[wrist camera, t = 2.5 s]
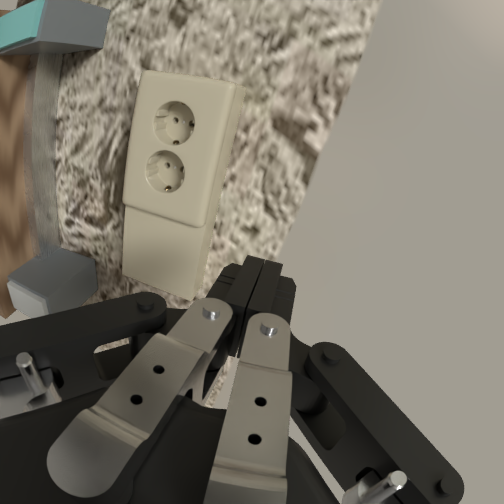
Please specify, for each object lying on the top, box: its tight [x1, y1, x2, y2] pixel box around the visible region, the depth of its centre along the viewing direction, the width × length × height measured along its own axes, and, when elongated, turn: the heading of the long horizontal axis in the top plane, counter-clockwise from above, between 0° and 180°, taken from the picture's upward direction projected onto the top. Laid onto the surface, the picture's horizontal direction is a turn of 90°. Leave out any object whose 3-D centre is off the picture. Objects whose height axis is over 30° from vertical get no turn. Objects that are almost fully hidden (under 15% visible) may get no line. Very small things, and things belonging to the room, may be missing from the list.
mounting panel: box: [0, 10, 34, 319], centre depth 22 cm, size 31×2×10 cm, turn 170°
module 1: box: [0, 0, 110, 56], centre depth 16 cm, size 4×7×9 cm, turn 80°
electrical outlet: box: [122, 70, 246, 301], centre depth 24 cm, size 7×4×18 cm
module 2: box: [7, 248, 98, 318], centre depth 28 cm, size 4×7×9 cm, turn 80°
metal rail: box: [23, 53, 63, 261], centre depth 25 cm, size 22×2×4 cm, turn 170°
